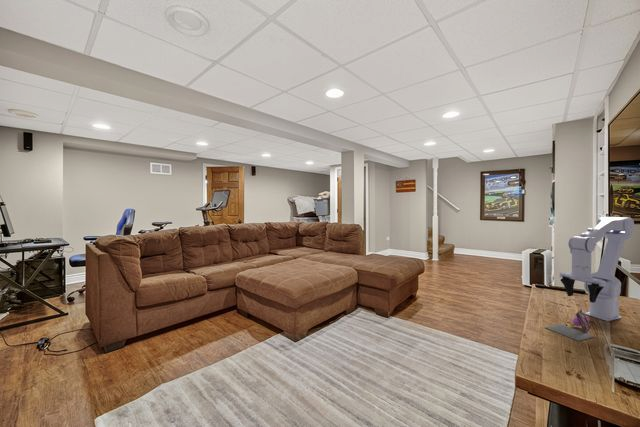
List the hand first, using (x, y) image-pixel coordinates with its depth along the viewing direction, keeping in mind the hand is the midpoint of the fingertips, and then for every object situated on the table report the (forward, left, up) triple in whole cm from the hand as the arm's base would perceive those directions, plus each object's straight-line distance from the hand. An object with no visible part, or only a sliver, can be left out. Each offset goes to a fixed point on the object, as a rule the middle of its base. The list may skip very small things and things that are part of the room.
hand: (581, 298), depth 110 cm
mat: (+14, +4, -10) cm, 17 cm away
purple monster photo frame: (+6, +3, -10) cm, 12 cm away
